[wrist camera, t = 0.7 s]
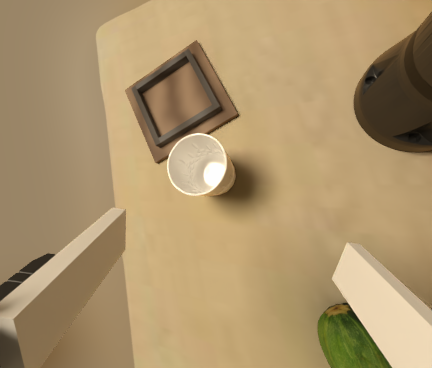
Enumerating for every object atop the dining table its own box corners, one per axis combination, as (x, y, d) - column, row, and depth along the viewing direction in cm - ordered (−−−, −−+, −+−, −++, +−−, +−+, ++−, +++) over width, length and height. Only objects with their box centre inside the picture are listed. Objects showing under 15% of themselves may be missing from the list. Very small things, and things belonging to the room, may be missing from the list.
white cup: (229, 145, 35) (213, 122, 25) (246, 188, 33) (236, 180, 23) (189, 164, 36) (159, 148, 27) (203, 205, 35) (177, 205, 25)
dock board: (198, 43, 38) (193, 33, 36) (238, 115, 35) (236, 109, 32) (127, 92, 41) (119, 85, 39) (157, 163, 38) (150, 160, 36)
